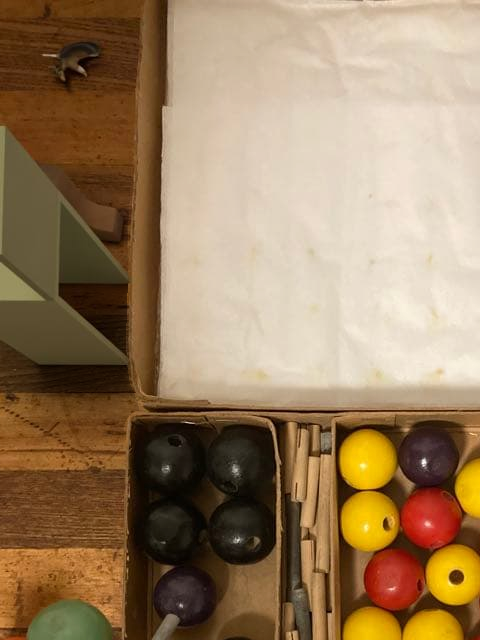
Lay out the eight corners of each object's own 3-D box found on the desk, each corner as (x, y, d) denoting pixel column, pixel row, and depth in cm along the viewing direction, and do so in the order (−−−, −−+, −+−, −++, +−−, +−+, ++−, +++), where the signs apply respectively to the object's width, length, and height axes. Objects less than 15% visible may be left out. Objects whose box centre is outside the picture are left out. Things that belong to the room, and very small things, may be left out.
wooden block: (124, 218, 151) (88, 168, 133) (121, 243, 151) (84, 195, 133) (75, 212, 151) (32, 161, 133) (71, 236, 151) (28, 188, 133)
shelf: (38, 364, 149) (-134, 253, 101) (40, 276, 150) (-128, 124, 102) (128, 364, 150) (1, 254, 101) (130, 277, 151) (5, 125, 102)
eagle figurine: (81, 97, 151) (111, 56, 150) (48, 68, 146) (79, 24, 144) (67, 85, 156) (96, 45, 155) (33, 56, 150) (63, 14, 149)
